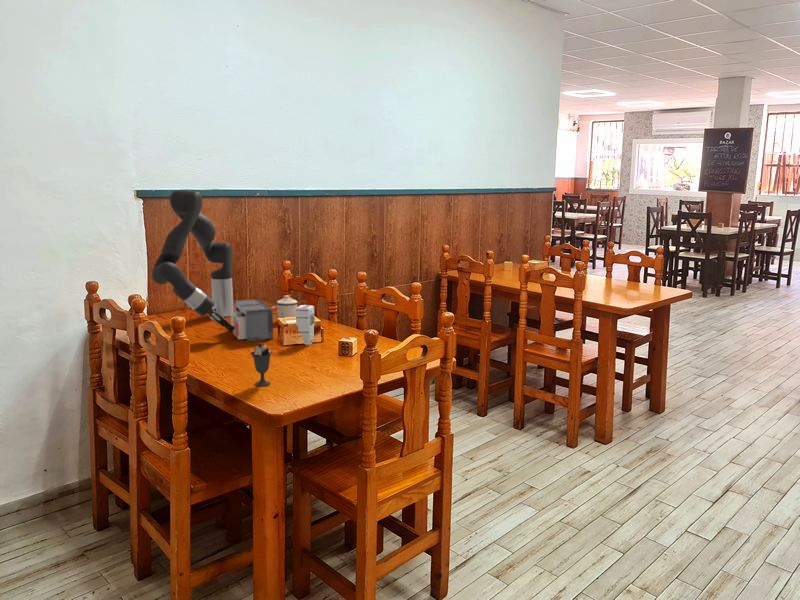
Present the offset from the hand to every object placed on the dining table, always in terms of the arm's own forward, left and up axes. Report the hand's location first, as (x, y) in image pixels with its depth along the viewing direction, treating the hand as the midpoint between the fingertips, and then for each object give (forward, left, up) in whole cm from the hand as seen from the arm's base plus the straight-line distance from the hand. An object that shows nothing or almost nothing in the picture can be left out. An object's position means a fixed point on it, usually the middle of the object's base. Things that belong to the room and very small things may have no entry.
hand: (232, 329), depth 254 cm
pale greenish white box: (-11, +7, -4) cm, 14 cm away
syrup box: (+17, +25, -4) cm, 30 cm away
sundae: (+59, -2, -4) cm, 59 cm away
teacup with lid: (-21, +27, -4) cm, 34 cm away
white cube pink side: (0, +6, -4) cm, 7 cm away
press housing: (-5, +10, -4) cm, 12 cm away
